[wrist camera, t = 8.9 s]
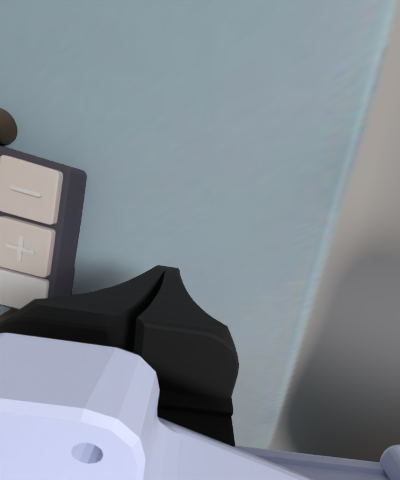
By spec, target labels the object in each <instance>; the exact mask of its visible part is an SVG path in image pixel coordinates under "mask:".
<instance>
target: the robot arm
mask: <svg viewBox="0 0 400 480" xmlns="http://www.w3.org/2000/svg"><path fill="white" fill-rule="evenodd" d="M238 369H239V362H238V356H237V352H236V348H235V345H234V342H233V339H232V337H231V334H230V332H229V329H228V327H227V326H226V325H224V324H222V323H221V322H219V321H217V320H216V319H214V318H212V317H211V316H210V315H208V314H207V313H206V312H205V311H203V310H202V309H201V308H200V307H199V306H198V305H197V304H196V303H195V302H194V301H193V299H192V298H191V297H190V295H189V294H188V292H187V290H186V288H185V286H184V284H183V282H182V279H181V276H180V270H179V269H178V268H173V267H167V266H160V265H157V266H155V267H154V268H152V269H150V270H148V271H147V272H145V273H143V274H141V275H139V276H137V277H135V278H133V279H131V280H129V281H126V282H124V283H121V284H118V285H116V286H113V287H109V288H105V289H102V290H98V291H94V292H89V293H84V294H78V295H71V296H64V297H53V298H42V299H34V300H32V301H31V302H29V303H28V304H26V305H25V306H24V307H22V308H21V309H19V310H18V311H16V312H15V313H13V314H12V315H10V316H9V317H7V318H6V319H4V320H3V321H1V322H0V480H400V445H394V446H391V447H389V448H387V449H386V450H385V451H384V453H383V455H382V457H381V459H380V463H378V462H370V461H361V460H353V459H344V458H335V457H327V456H318V455H310V454H301V453H293V452H285V451H276V450H268V449H259V448H251V447H242V446H235V441H234V434H233V426H232V419H231V416H232V414H233V405H232V398H231V396H232V393H233V389H234V386H235V382H236V379H237V375H238Z"/></svg>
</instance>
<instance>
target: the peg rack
mask: <svg viewBox="0 0 400 480" xmlns="http://www.w3.org/2000/svg"><path fill="white" fill-rule="evenodd" d="M16 135H17V126H16V123H15V121H14V119H13V117H12V116H11V115H10V114H9V113H8V112H7V111H5V110H3V109H1V108H0V144H9V143H11V142H13V141H14V140H15V138H16ZM16 311H18V309H14V308H12V309H10V310H8V311H7V312H5V313H4V314H2V315H1V316H0V322H1V321H3V320H4V319H6V318H7V317H9V316H10V315H12V314H13V313H15V312H16Z"/></svg>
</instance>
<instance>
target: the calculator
mask: <svg viewBox="0 0 400 480" xmlns="http://www.w3.org/2000/svg"><path fill="white" fill-rule="evenodd" d="M86 179H87V175H86V173H85V172H84V171H82V170H80V169H76V168H73V167H70V166H66V165H63V164H60V163H56V162H53V161H50V160H46V159H43V158H40V157H36V156H33V155H30V154H26V153H23V152H20V151H16V150H13V149H10V148H7V147H3V146H0V305H2V306H6V307H10V308H14V309H18V310H19V309H21V308H22V307H24V306H25V305H26V304H28V303H29V302H31V301H32V300H34V299H42V298H53V297H64V296H71V295H72V288H73V280H74V272H75V268H74V263H75V256H76V250H77V244H78V237H79V231H80V225H81V217H82V210H83V202H84V194H85V187H86Z"/></svg>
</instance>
